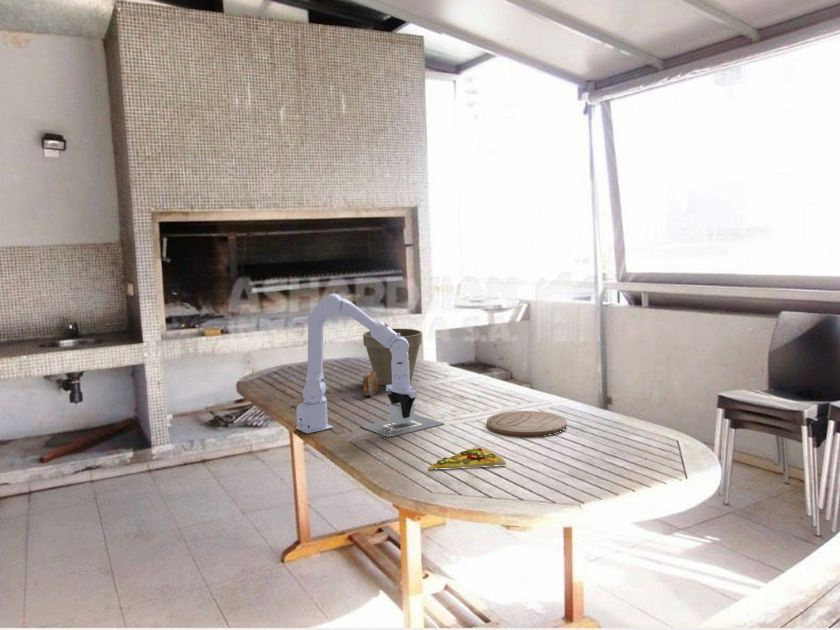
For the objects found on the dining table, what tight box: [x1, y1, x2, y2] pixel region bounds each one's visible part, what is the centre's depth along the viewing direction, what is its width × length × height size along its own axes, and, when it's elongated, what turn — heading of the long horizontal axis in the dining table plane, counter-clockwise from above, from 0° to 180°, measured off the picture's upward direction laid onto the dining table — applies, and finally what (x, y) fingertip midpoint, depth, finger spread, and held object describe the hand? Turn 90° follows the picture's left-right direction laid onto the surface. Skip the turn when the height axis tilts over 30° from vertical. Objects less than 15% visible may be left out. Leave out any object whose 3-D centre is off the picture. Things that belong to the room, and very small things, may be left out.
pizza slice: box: [427, 446, 507, 470], centre depth 178 cm, size 16×21×3 cm
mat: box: [360, 413, 445, 438], centre depth 217 cm, size 22×16×1 cm
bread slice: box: [362, 370, 380, 397], centre depth 264 cm, size 15×3×8 cm, turn 168°
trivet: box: [486, 410, 568, 438], centre depth 212 cm, size 25×25×2 cm
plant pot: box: [362, 328, 423, 387], centre depth 282 cm, size 25×25×22 cm
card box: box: [388, 402, 416, 424], centre depth 216 cm, size 4×7×6 cm, turn 127°
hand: (402, 416), depth 216 cm, fingers closed on card box, 4 cm apart
